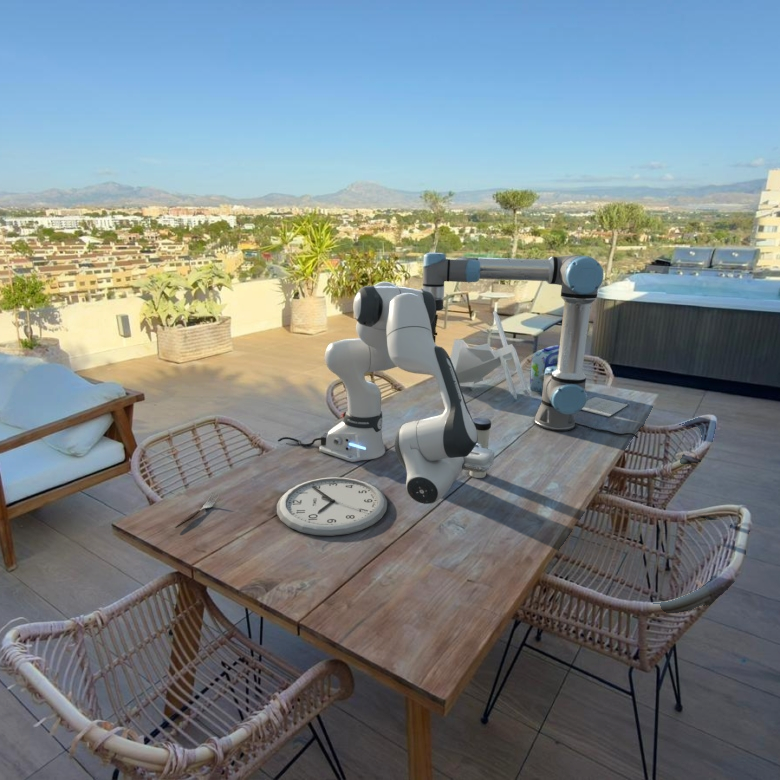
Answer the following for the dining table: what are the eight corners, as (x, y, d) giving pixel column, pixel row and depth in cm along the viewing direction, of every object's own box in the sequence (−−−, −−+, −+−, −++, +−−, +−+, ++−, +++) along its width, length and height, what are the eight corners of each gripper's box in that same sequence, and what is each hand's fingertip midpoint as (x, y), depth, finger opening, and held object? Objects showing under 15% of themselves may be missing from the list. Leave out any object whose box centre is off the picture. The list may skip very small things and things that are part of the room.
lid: (486, 423, 161) (486, 417, 160) (493, 429, 155) (494, 423, 155) (468, 424, 160) (469, 418, 159) (475, 431, 154) (476, 424, 154)
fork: (171, 528, 130) (170, 521, 130) (212, 499, 145) (211, 492, 144) (179, 530, 129) (178, 523, 129) (220, 500, 144) (219, 494, 143)
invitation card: (608, 416, 214) (573, 407, 224) (608, 416, 214) (573, 408, 224) (628, 404, 229) (594, 396, 238) (628, 405, 229) (594, 397, 238)
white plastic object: (461, 429, 252) (437, 405, 227) (444, 352, 274) (420, 323, 250) (535, 404, 240) (518, 377, 215) (510, 326, 262) (492, 293, 237)
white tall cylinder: (482, 470, 165) (486, 418, 160) (488, 477, 160) (492, 424, 155) (467, 471, 164) (470, 419, 159) (472, 478, 159) (476, 425, 154)
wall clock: (392, 527, 129) (268, 531, 127) (391, 533, 130) (269, 537, 127) (383, 473, 158) (282, 475, 155) (383, 478, 158) (282, 480, 156)
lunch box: (546, 398, 236) (551, 353, 229) (525, 393, 243) (529, 349, 237) (573, 387, 253) (579, 344, 247) (553, 382, 260) (558, 341, 254)
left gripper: (488, 459, 121) (501, 438, 133) (406, 443, 129) (425, 425, 141) (486, 483, 123) (499, 461, 135) (405, 467, 131) (425, 447, 143)
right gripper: (424, 293, 195) (422, 349, 202) (419, 302, 172) (417, 365, 178) (444, 294, 195) (441, 350, 201) (442, 303, 171) (439, 366, 177)
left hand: (461, 442), depth 138 cm, fingers open, 8 cm apart
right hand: (430, 357), depth 190 cm, fingers open, 13 cm apart
